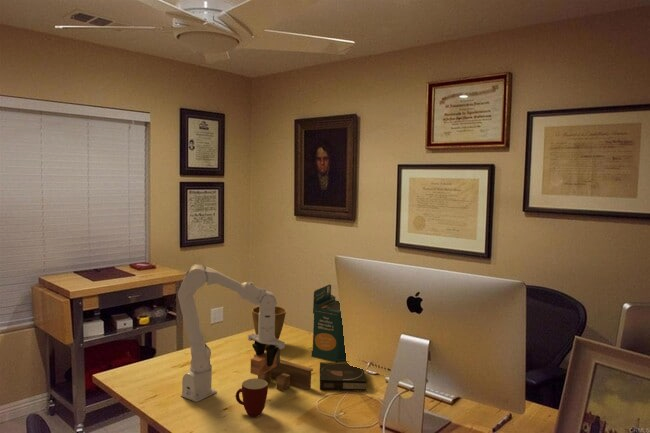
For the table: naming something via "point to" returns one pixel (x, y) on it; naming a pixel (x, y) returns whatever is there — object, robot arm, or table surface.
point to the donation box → (327, 327)
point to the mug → (253, 396)
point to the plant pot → (279, 320)
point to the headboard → (288, 375)
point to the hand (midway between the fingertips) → (265, 364)
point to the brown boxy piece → (263, 363)
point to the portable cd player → (341, 377)
